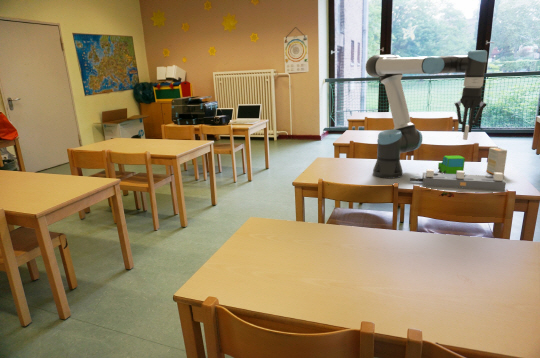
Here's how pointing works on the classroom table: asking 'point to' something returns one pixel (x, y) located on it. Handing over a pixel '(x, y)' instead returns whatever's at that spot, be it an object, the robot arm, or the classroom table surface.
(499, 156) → the supplement box
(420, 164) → the classroom table surface
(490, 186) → the power strip
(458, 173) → the slider middle
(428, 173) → the slider near arm
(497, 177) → the block
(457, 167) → the toy car
